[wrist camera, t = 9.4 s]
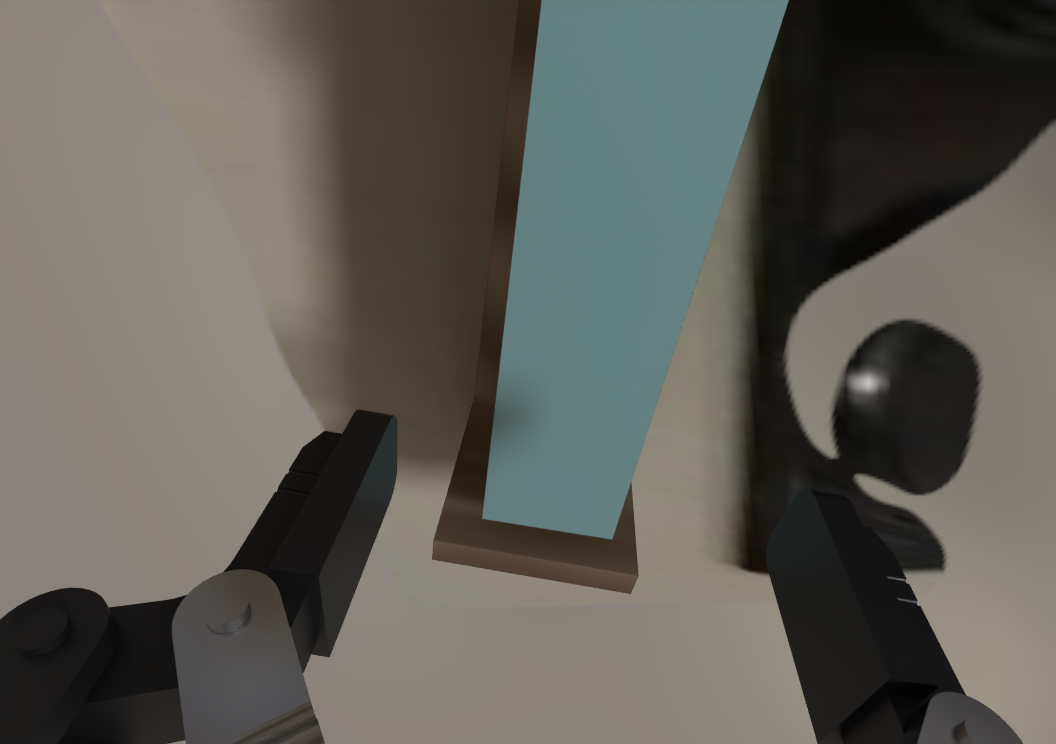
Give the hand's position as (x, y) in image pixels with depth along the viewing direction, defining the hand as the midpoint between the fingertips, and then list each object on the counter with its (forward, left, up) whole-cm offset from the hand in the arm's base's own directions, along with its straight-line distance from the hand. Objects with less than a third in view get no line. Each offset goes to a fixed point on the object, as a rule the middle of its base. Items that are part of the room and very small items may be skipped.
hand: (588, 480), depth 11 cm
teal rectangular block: (0, 0, -10) cm, 10 cm away
